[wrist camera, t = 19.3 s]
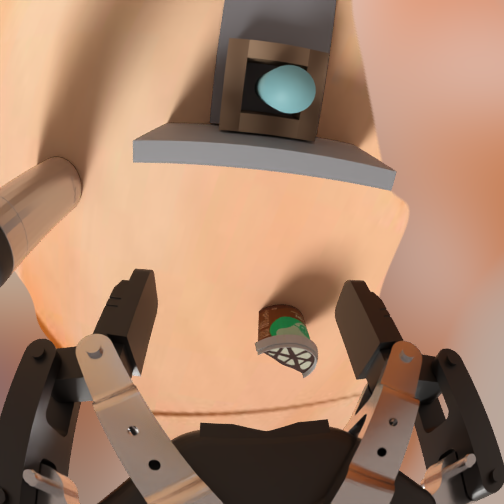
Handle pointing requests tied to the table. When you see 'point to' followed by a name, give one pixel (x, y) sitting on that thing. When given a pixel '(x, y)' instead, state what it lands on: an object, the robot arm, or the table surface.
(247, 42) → the block
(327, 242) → the table surface
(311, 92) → the teal rounded bar piece
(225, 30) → the rail plate
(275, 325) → the food container
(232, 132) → the backstop wall
